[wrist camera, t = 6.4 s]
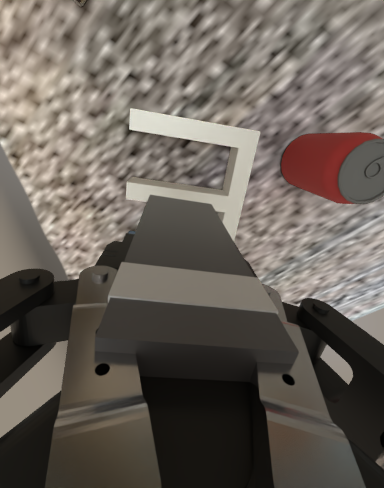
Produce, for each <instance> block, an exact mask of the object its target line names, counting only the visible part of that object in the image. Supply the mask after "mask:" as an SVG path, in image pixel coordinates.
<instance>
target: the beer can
mask: <svg viewBox="0 0 384 488" xmlns="http://www.w3.org/2000/svg"><path fill="white" fill-rule="evenodd" d="M281 168H282V173H283V176H284V178H285V179H286V180H287V181H288V182H289V183H290V184H292V185H294V186H296V187H299V188H301V189H304V190H306V191H309V192H311V193H314V194H316V195H319V196H321V197H324V198H326V199H329V200H331V201H334V202H336V203H342V204H367V203H370V202H374V201H375V200H377V199H379V198H381V197H383V196H384V139H382V138H380V137H379V136H377V135H374V134H371V133H362V132H355V133H318V134H306V135H302V136H300V137H298V138H297V139H295V140H294V141H292V142H291V144H290V145H289V146H288V147H287V148H286V150H285V152H284V154H283V157H282V162H281Z"/></svg>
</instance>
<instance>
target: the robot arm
mask: <svg viewBox="0 0 384 488" xmlns="http://www.w3.org/2000/svg"><path fill="white" fill-rule="evenodd" d="M134 235H135V234H130V233H126V235H125V238H124V240H123V242H118V241H114V242H112V243H110V244H108V245H107V246H106V248H105V250H104V251H103V253H102V255H101V256H100V258H99V260H98V261H97V263H96V265H95V266H92V267H89V268H86V269H84V270H83V271H82V272H81V273H80V275H79V279H76V280H70V281H57V282H54V275H53V274H52V273H51V272H49V271H47V270H43V269H26V270H21V271H18V272H15V273H13V274H10V275H8V276H6V277H4V278H2V279H0V332H1V331H2V330H4V329H5V328H7V327H8V326H10V325H11V332H10V333H9V334H8V335H6V336H5V337H4V338H2V339H1V340H0V398H1V397H2V396H3V395H4V394H5V393H6V392H7V391H8V390H9V389H10V388H11V387H12V386H13V385H14V384H15V383H17V382H18V381H19V380H20V379H21V378H22V377H23V376H24V375H25V374H26V373H27V372H28V371H29V370H30V369H31V368H32V367H33V366H34V365H36V364H37V362H39V361H40V360H41V359H42V358H43V357H44V356H45V355H46V354H47V353H48V352H49V351H50V350H51V349H52V348H53V347H54V346H55V344H56V342H60V341H66V340H68V346H67V354H66V361H65V368H64V375H63V383H62V390H61V391H60V392H59V393H58V394H56V395H55V396H54V397H52V398H51V399H50V400H48V401H47V402H46V403H45V404H43V405H42V406H41V407H40V408H38V409H37V410H36V411H34V412H33V413H32V414H31V415H29V416H28V417H27V418H26V419H24V420H23V421H22V422H20V423H19V424H18V425H16V426H15V427H14V428H13V429H11V430H10V431H9V432H7V433H6V434H5V435H4V436H2V437H1V438H0V488H384V345H383V344H382V343H380V342H379V341H378V340H376V339H375V338H374V337H372V336H370V335H369V334H368V333H367V332H365V331H364V330H363V329H361V328H360V327H358V326H357V325H356V324H354V323H353V322H352V321H350V320H349V319H348V318H346V317H345V316H344V315H342V314H341V313H340V312H338V311H337V310H335V309H334V308H333V307H331V306H330V305H328V304H326V303H324V302H322V301H320V300H317V299H312V298H305V299H303V300H302V302H301V304H300V306H299V307H297V306H294V305H291V304H287V303H284V302H282V301H281V297H280V295H279V293H278V292H277V291H276V290H274V289H273V288H271V287H269V286H267V285H264V284H262V285H263V287H264V289H265V290H266V292H267V294H268V295H269V297H270V298H271V300H272V302H273V303H274V305H275V307H276V308H277V310H278V311H279V312H278V314H277V315H278V317H279V319H280V320H281V322H282V324H283V326H284V327H285V329H286V331H287V332H288V334H289V336H290V337H291V339H292V341H293V342H294V344H295V346H296V347H297V349H298V351H299V354H298V356H297V358H296V360H295V362H294V364H285V363H269V362H256V365H255V368H254V370H253V373H252V375H251V378H250V382H241V381H222V380H202V379H183V378H164V377H145V376H139V370H138V364H137V358H136V354H130V353H115V352H100V351H95V336H96V333H97V331H98V328H99V326H100V323H101V320H102V318H103V315H104V313H105V310H106V307H107V305H108V295H109V292H110V290H111V287H112V285H113V282H114V280H115V277H116V275H117V272H118V270H119V267H120V265H121V262H124V261H125V258H126V255H127V253H128V250H129V248H130V245H131V242H132V240H133V237H134ZM244 260H245V259H244ZM245 261H246V260H245ZM246 263H247V265H248V267H249V268H250V270H251V272H252V273H253V275H254V277H257V276H256V274H255V273H254V271H253V269H252V267H251V266H250V264H249V263H248V262H247V261H246ZM257 278H258V277H257ZM326 345H329V346H330V347H331V348H332V349H333V350H334V351H335V352H336V353H338V354H339V355H340V356H341V357H342V358H343V359H344V360H345V361H346V362H347V363H348V364H349V365H350V366H351V368H352V371H353V378H352V381H351V382H350V384H349V385H348V384H347V383H346V382H345V381H344V380H343V379H342V378H341V377H340V376H339V375H338V374H337V373H336V372H335V371H334V370H333V369H332V368H331V367H330V366H328V365H327V364H326V363H325V362H324V361H323V360H322V359H321V358H320V356H321V354H322V352H323V350H324V348H325V346H326Z"/></svg>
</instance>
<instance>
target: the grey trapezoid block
mask: <svg viewBox="0 0 384 488" xmlns="http://www.w3.org/2000/svg"><path fill="white" fill-rule="evenodd" d="M278 312H279V311H278V310H277V308H276V307H275V305H274V303H273V302H272V300H271V298H270V297H269V295H268V294H267V292H266V290H265V289H264V287H263V285H262V284H261V282H260V280H259V279H258V278H257V277H254V275H253V273H252V272H251V270H250V268H249V267H248V265H247V263H246V261H245V260H244V258H243V256H242V255H241V253H240V251H239V250H238V248H237V246H236V245H235V243H234V241H233V240H232V238H231V236H230V235H229V233H228V231H227V229H226V228H225V226H224V224H223V223H222V221H221V219H220V218H219V216H218V214H217V213H216V211H215V209H214V208H213V206H212V204H208V203H202V202H195V201H189V200H182V199H176V198H169V197H163V196H156V195H150V196H149V198H148V201H147V203H146V206H145V209H144V211H143V214H142V216H141V219H140V222H139V224H138V227H137V229H136V232H135V235H134V237H133V240H132V242H131V245H130V248H129V250H128V253H127V255H126V258H125V261H124V262H121V265H120V267H119V270H118V272H117V275H116V277H115V280H114V282H113V285H112V287H111V290H110V292H109V295H108V305H107V307H106V310H105V313H104V315H103V318H102V320H101V323H100V326H99V328H98V331H97V333H96V336H95V351H100V352H115V353H130V354H136V358H137V364H138V370H139V376H145V377H164V378H183V379H202V380H222V381H241V382H250V378H251V375H252V373H253V370H254V368H255V365H256V362H269V363H285V364H294V362H295V360H296V358H297V356H298V354H299V351H298V349H297V347H296V346H295V344H294V342H293V341H292V339H291V337H290V336H289V334H288V332H287V331H286V329H285V327H284V326H283V324H282V322H281V320H280V319H279V317H278V315H277V314H278Z"/></svg>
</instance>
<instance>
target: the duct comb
mask: <svg viewBox="0 0 384 488" xmlns="http://www.w3.org/2000/svg"><path fill="white" fill-rule="evenodd" d="M129 130H135V131H141V132H146V133H152V134H158V135H164V136H170V137H176V138H182V139H188V140H194V141H200V142H206V143H212V144H218V145H224V146H230V147H231V150H230V154H229V159H228V164H227V169H226V174H225V179H224V184H223V189H222V190H219V189H212V188H205V187H198V186H192V185H185V184H178V183H171V182H164V181H157V180H150V179H143V178H136V177H132V178H131V179H130V180H129V181H127V189H126V199H128V200H135V201H143V202H147V201H148V198H149V196H150V195H156V196H163V197H169V198H176V199H182V200H189V201H195V202H202V203H208V204H212V206H213V208H214V209H215V211H218V216H219V218H220V219H221V221H222V223H223V224H224V226H225V228H226V229H227V231H228V233H229V235H230V236H231V238H232V240H233V241H234V239H235V235H236V231H237V227H238V223H239V219H240V215H241V210H242V206H243V202H244V198H245V194H246V190H247V186H248V181H249V177H250V173H251V169H252V165H253V161H254V157H255V152H256V148H257V144H258V140H259V136H260V131H255V130H249V129H243V128H238V127H232V126H227V125H221V124H216V123H210V122H204V121H199V120H193V119H188V118H182V117H177V116H171V115H165V114H160V113H154V112H149V111H143V110H137V109H132V108H130V127H129ZM128 233H130V234H135V231H129V232H128Z"/></svg>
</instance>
